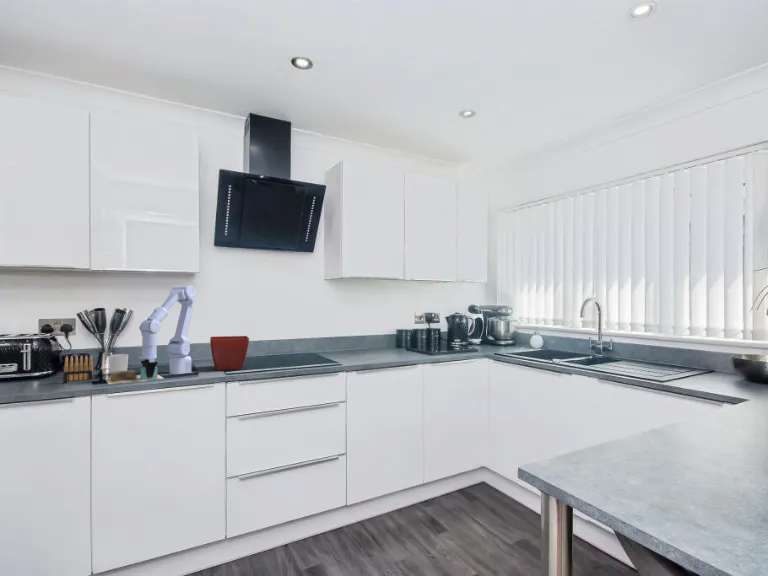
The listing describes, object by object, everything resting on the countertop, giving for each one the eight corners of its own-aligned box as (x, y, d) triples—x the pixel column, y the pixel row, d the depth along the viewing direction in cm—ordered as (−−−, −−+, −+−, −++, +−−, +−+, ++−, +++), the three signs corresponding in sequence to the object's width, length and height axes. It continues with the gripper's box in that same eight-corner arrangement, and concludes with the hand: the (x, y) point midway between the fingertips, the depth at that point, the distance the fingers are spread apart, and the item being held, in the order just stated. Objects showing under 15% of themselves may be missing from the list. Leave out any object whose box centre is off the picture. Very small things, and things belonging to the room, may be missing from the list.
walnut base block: (133, 376, 191) (133, 370, 191) (136, 378, 185) (136, 372, 185) (110, 378, 185) (110, 372, 185) (112, 381, 180) (112, 374, 180)
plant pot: (246, 365, 233) (246, 335, 233) (249, 370, 215) (249, 338, 216) (209, 367, 225) (210, 336, 226) (209, 372, 208) (210, 339, 208)
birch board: (156, 375, 199) (156, 373, 199) (164, 380, 186) (164, 378, 186) (104, 380, 186) (104, 378, 186) (108, 386, 173) (108, 384, 173)
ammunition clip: (93, 380, 185) (93, 354, 186) (92, 381, 184) (93, 354, 184) (63, 383, 180) (64, 355, 181) (62, 383, 179) (63, 356, 179)
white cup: (124, 373, 204) (125, 353, 204) (130, 375, 199) (131, 354, 199) (106, 375, 198) (106, 355, 198) (112, 377, 193) (112, 356, 193)
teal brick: (155, 377, 189) (155, 366, 189) (157, 378, 186) (157, 367, 186) (140, 378, 185) (140, 367, 186) (142, 380, 182) (142, 368, 182)
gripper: (136, 345, 189) (136, 375, 189) (142, 348, 178) (141, 379, 177) (153, 344, 194) (153, 373, 193) (160, 347, 182) (159, 378, 182)
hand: (148, 376), depth 186 cm, fingers closed on teal brick, 4 cm apart
